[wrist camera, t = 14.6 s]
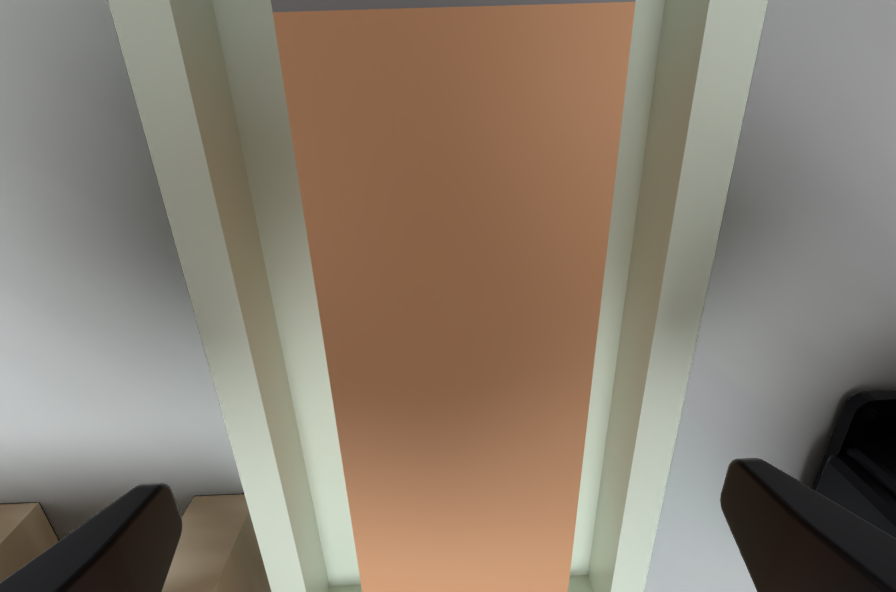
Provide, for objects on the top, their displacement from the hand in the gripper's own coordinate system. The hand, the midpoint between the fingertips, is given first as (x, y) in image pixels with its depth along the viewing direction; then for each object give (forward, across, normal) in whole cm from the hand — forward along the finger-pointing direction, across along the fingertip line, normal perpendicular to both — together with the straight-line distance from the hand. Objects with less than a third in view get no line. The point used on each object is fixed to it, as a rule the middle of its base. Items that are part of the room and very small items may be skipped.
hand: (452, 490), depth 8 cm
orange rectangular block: (+5, 0, -1) cm, 5 cm away
